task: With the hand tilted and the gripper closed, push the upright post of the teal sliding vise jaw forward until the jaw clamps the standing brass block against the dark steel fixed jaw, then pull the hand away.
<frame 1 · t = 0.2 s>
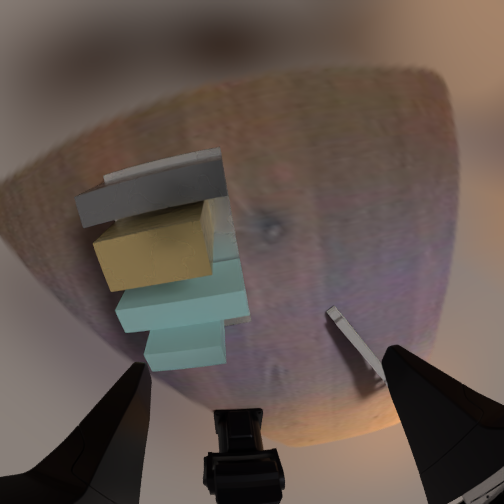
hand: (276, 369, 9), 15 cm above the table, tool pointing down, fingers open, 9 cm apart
grey long thin bar: (367, 349, 31), on the table
vise: (182, 248, 23), on the table
brass block: (171, 219, 20), point 1 cm above the table, touching vise
vise jaw: (184, 314, 19), point 5 cm above the table, slide at 0.0 cm
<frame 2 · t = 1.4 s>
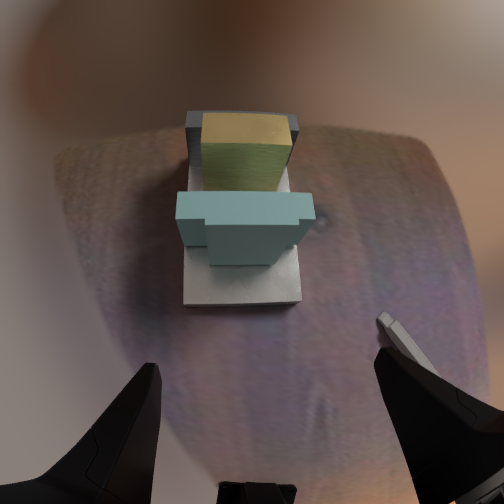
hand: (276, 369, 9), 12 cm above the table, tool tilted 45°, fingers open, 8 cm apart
grey long thin bar: (424, 389, 21), on the table
vise: (238, 220, 24), on the table
brass block: (239, 182, 24), point 1 cm above the table, touching vise
vise jaw: (245, 223, 18), point 5 cm above the table, slide at 0.0 cm
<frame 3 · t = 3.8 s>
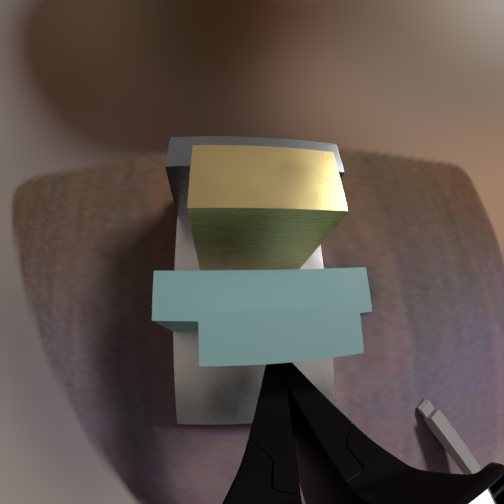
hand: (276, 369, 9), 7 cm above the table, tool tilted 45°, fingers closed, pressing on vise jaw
grey long thin bar: (454, 465, 13), on the table
vise: (249, 298, 17), on the table
brass block: (250, 244, 17), point 1 cm above the table, touching vise
vise jaw: (264, 318, 11), point 5 cm above the table, slide at 0.9 cm, touching gripper
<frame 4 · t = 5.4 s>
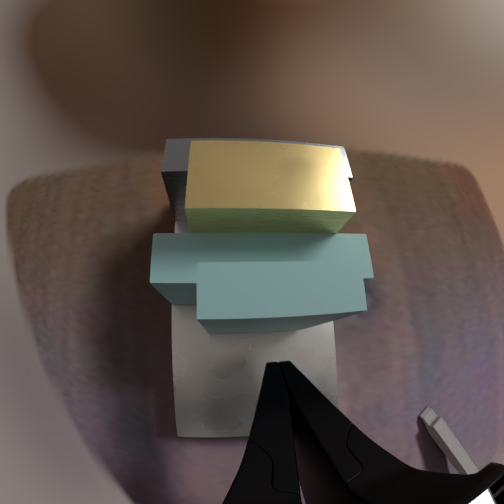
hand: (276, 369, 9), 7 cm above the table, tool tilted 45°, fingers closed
grey long thin bar: (453, 471, 13), on the table
vise: (251, 307, 16), on the table
brass block: (251, 243, 16), point 1 cm above the table, touching vise, vise jaw
vise jaw: (264, 283, 11), point 5 cm above the table, slide at 3.0 cm, touching brass block
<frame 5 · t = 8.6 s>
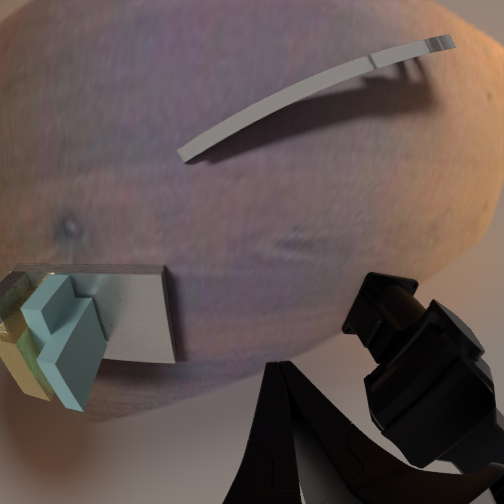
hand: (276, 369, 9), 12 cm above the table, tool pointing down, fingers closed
grey long thin bar: (311, 85, 16), on the table
vise: (90, 310, 21), on the table
brass block: (53, 317, 19), point 1 cm above the table, touching vise, vise jaw
vise jaw: (66, 351, 16), point 5 cm above the table, slide at 3.0 cm, touching brass block
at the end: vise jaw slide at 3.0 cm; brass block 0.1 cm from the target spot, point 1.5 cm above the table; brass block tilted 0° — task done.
